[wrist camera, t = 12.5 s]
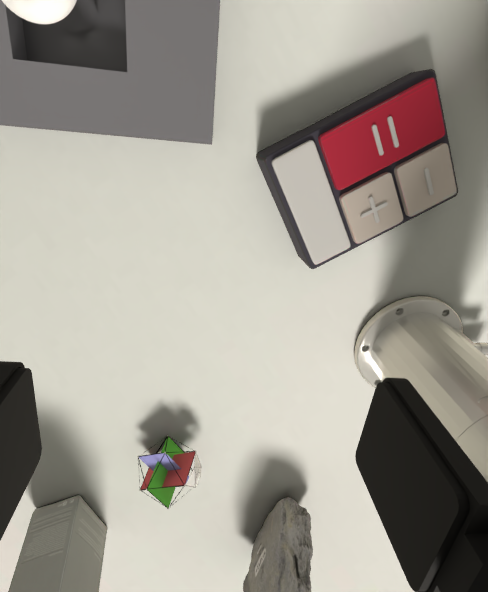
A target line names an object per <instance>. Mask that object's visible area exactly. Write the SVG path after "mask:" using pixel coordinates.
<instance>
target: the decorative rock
mask: <svg viewBox="0 0 488 592" xmlns="http://www.w3.org/2000/svg"><path fill="white" fill-rule="evenodd" d="M310 521H311V518H310V514H309V513H308V512H307V510H306V509H305V508H303V507H301V506H299V505H298V504H297V502H296V501H295V500H294V499H292V498H290V497H288V496H287V497H286V498H284V499H281V500H280V501H279V502H277V504H276V505H275V507H274V509H273V510H272V511H271V513H269V514H268V516H267V518H266V520H265V521H264V523H263V527H262V528H261V530H260V532H259V533H258V535H257V537H256V540H255V542H254V546H253V550H252V556H251V563H250V567H249V572H248V574H247V576H246V578H245V581H244V584H243V591H244V592H311V582H310V576H309V575H310V571H311V566H310V560H311V558H312V553H313V548H312V540H311V534H310V530H311V522H310Z"/></svg>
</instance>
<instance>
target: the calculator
mask: <svg viewBox="0 0 488 592" xmlns="http://www.w3.org/2000/svg"><path fill="white" fill-rule="evenodd" d="M256 159H257V161H258V164H259V166H260V168H261V171H262V173H263V175H264V178H265V180H266V182H267V185H268V187H269V189H270V191H271V194H272V196H273V198H274V201H275V203H276V205H277V208H278V210H279V212H280V215H281V217H282V219H283V221H284V224H285V226H286V228H287V231H288V233H289V235H290V238H291V240H292V242H293V244H294V247H295V249H296V251H297V254H298V256H299V257H300V258H301V259H302V260H303V261H304V262H305V263H306V264H307V265H308V267H310V268H311V269H314V268H317V267H319V266H321V265H323V264H325V263H326V262H328V261H330V260H332V259H334V258H336V257H338V256H340V255H342V254H344V253H346V252H348V251H350V250H352V249H354V248H356V247H358V246H360V245H361V244H363V243H365V242H367V241H369V240H371V239H373V238H375V237H377V236H379V235H381V234H383V233H385V232H387V231H389V230H391V229H393V228H395V227H397V226H398V225H400V224H402V223H404V222H406V221H408V220H410V219H412V218H414V217H416V216H418V215H420V214H422V213H424V212H426V211H428V210H430V209H432V208H434V207H435V206H437V205H439V204H441V203H443V202H445V201H447V200H449V199H451V198H453V197H455V196H456V195H457V193H458V188H457V183H456V177H455V172H454V167H453V162H452V157H451V152H450V146H449V141H448V136H447V131H446V126H445V120H444V115H443V110H442V105H441V100H440V95H439V89H438V84H437V79H436V74H435V71H434V70H432V69H429V70H424V71H418V72H413V73H410V74H408V75H406V76H404V77H402V78H400V79H398V80H396V81H395V82H393V83H391V84H389V85H387V86H385V87H383V88H381V89H379V90H377V91H375V92H373V93H372V94H370V95H368V96H366V97H364V98H362V99H360V100H358V101H356V102H354V103H353V104H351V105H349V106H347V107H345V108H343V109H341V110H339V111H337V112H336V113H334V114H332V115H330V116H328V117H326V118H324V119H322V120H321V121H319V122H317V123H315V124H313V125H311V126H309V127H307V128H305V129H303V130H301V131H299V132H296V133H294V134H293V135H291V136H289V137H287V138H285V139H283V140H281V141H279V142H277V143H275V144H273V145H271V146H269V147H268V148H266V149H264V150H262V151H260V152H258V154H257V156H256Z"/></svg>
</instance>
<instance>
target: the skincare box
mask: <svg viewBox="0 0 488 592" xmlns="http://www.w3.org/2000/svg"><path fill="white" fill-rule="evenodd" d="M106 533H107V527H106V526H105V525H104V523H103V522H102V521H101V520H100V519H99V518H98V516H97V515H96V514H95V513H94V512H93V511H92V509H91V508H90V507H89V506H88V505H87V503H86V502H85V501H84V500H83V499H82V498H81V496H80V495H78V496H74V497H71V498H68V499H66V500H63V501H60V502H57V503H54V504H50V505H47V506H44V507H40V508H37V509H35V511H34V512H33V514H32V517H31V521H30V524H29V527H28V530H27V533H26V537H25V540H24V543H23V546H22V550H21V553H20V556H19V559H18V562H17V566H16V569H15V572H14V575H13V579H12V582H11V585H10V588H9V591H8V592H99V584H100V577H101V570H102V562H103V555H104V548H105V540H106Z"/></svg>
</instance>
